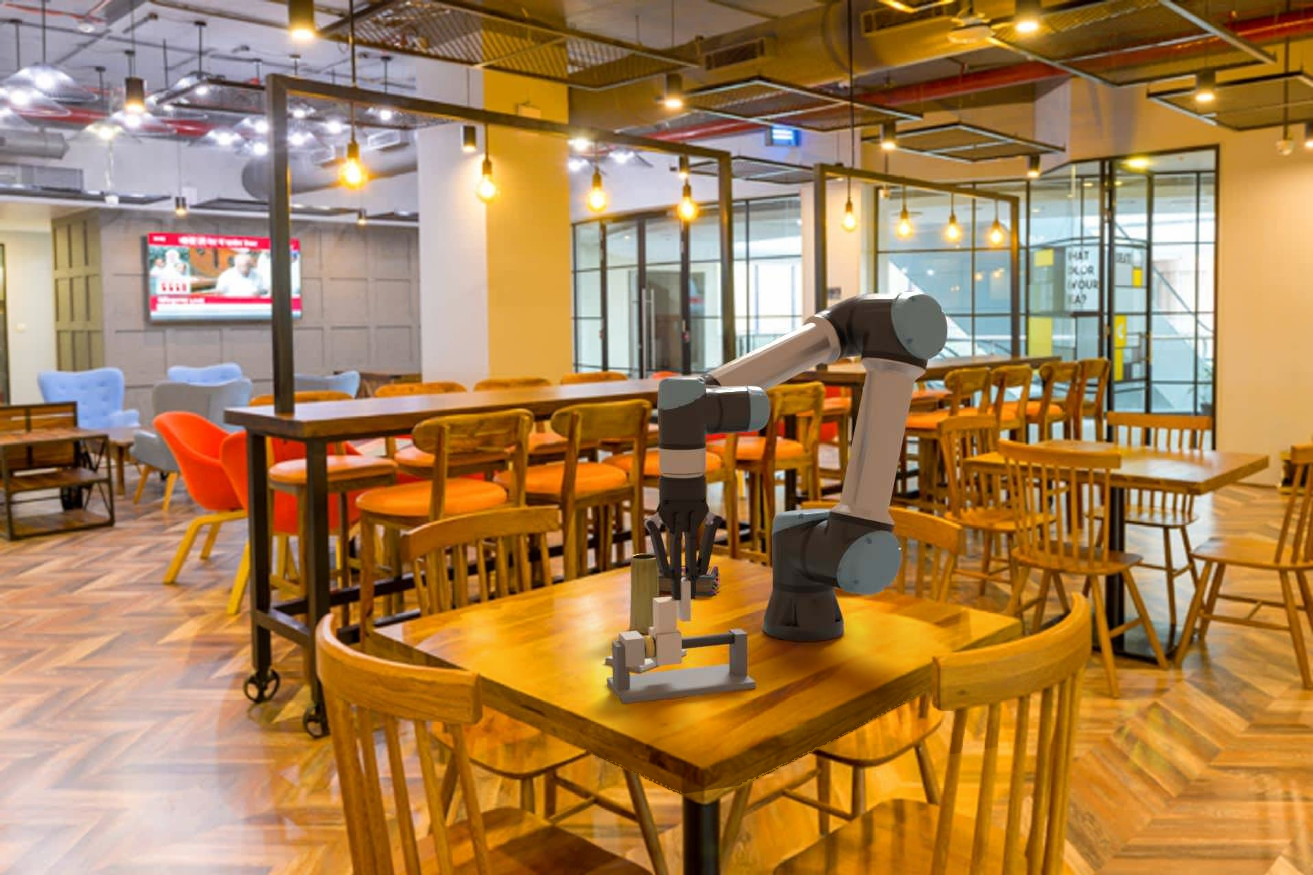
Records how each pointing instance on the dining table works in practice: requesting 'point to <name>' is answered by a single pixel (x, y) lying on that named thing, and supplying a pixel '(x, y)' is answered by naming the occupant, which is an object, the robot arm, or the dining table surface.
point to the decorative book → (703, 584)
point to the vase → (643, 591)
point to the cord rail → (681, 681)
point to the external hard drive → (648, 665)
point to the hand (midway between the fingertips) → (683, 619)
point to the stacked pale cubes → (666, 632)
